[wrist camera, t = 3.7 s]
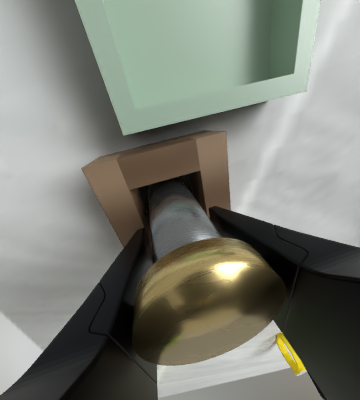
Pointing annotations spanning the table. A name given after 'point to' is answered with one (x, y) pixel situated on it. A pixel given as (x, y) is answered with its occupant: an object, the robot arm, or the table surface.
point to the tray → (198, 55)
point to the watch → (297, 366)
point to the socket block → (159, 177)
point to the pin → (198, 285)
